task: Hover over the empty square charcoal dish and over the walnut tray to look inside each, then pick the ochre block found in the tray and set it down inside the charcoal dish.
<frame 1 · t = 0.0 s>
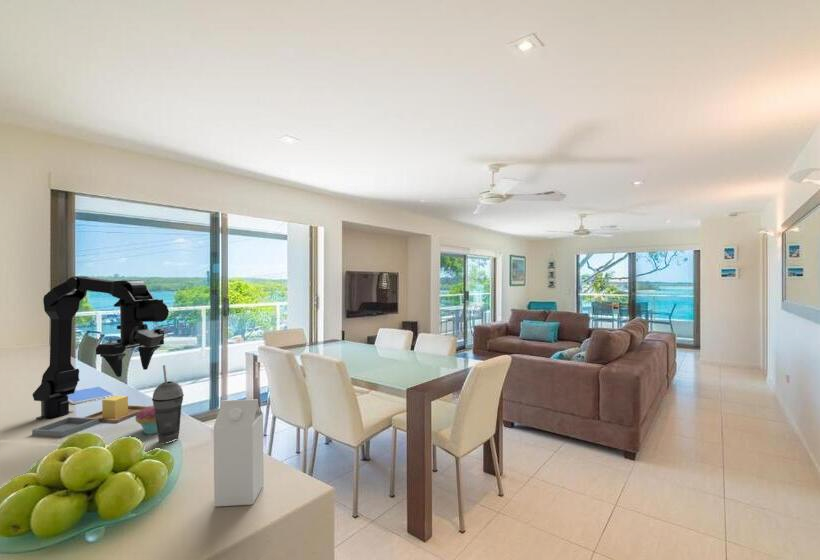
hand: (132, 373, 119), 15 cm above the counter, tool pointing down, fingers open, 9 cm apart
tray: (118, 416, 124), on the counter
beverage cup: (168, 440, 105), on the counter
block: (115, 415, 123), point 1 cm above the counter, touching tray
milk carton: (240, 497, 78), on the counter
cupcake: (154, 431, 112), on the counter
tablet computer: (87, 397, 147), on the counter
dish: (66, 431, 112), on the counter
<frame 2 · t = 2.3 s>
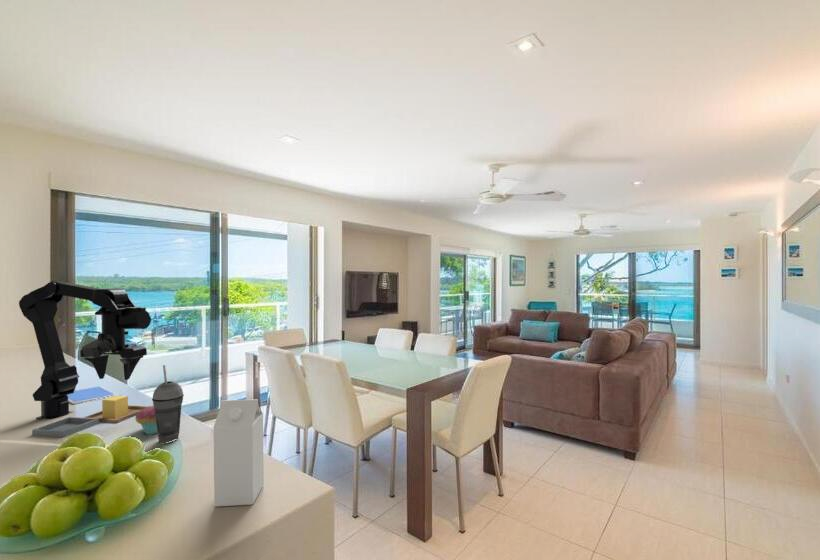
hand: (114, 379, 123), 12 cm above the counter, tool pointing down, fingers open, 9 cm apart
nothing on the counter moved.
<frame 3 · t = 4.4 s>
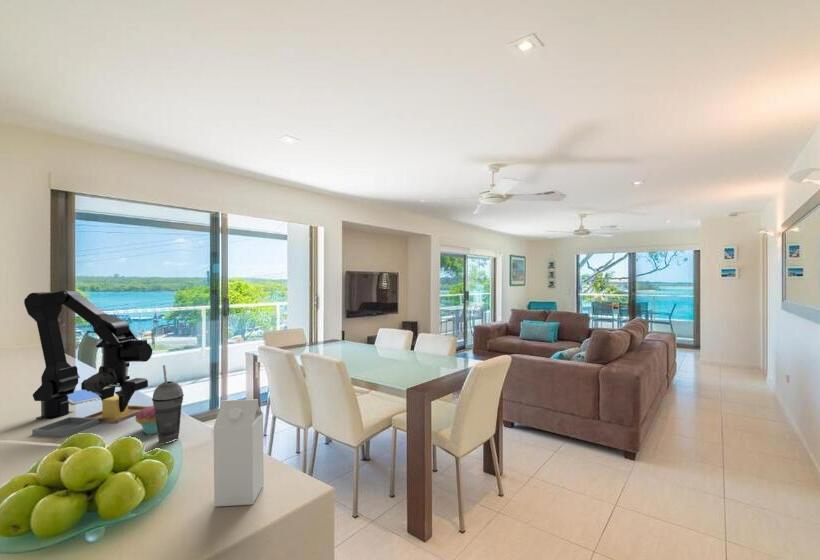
hand: (115, 411, 123), 2 cm above the counter, tool pointing down, fingers closed on block, 4 cm apart
block: (115, 415, 123), point 1 cm above the counter, touching gripper, tray
everything else where it was.
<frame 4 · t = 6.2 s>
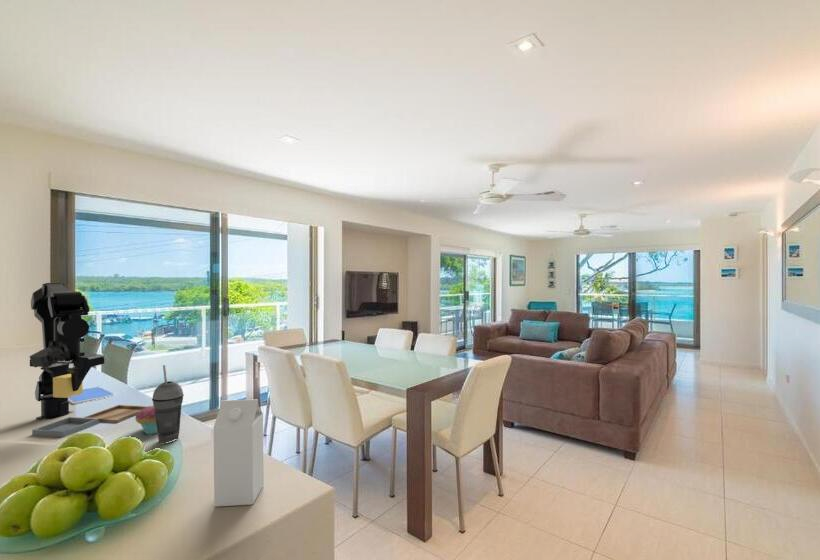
hand: (68, 390, 112), 11 cm above the counter, tool pointing down, fingers closed on block, 4 cm apart
block: (68, 395, 112), point 10 cm above the counter, touching gripper
everything else where it was.
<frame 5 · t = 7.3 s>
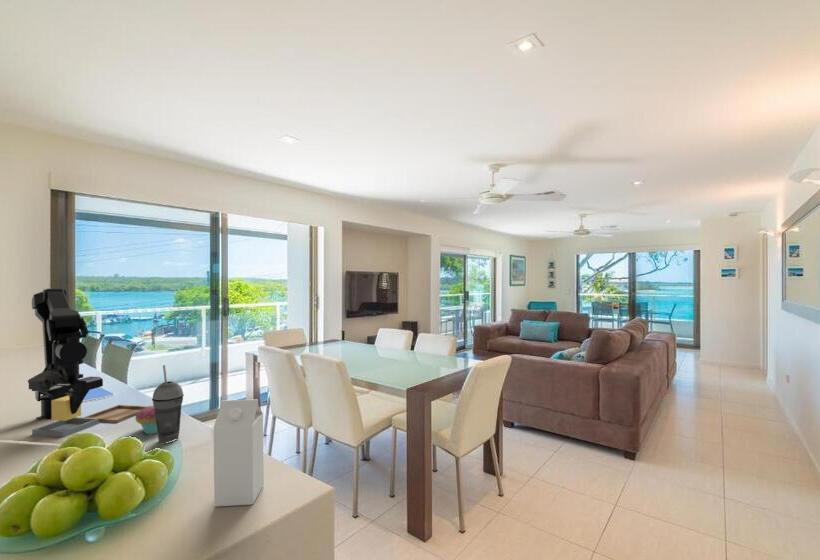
hand: (66, 413, 112), 5 cm above the counter, tool pointing down, fingers closed on block, 4 cm apart
block: (66, 417, 112), point 4 cm above the counter, touching gripper
everything else where it was.
when the fingers open (3 cm above the counter, at t = 8.0 s): block drops 1 cm, resting on dish.
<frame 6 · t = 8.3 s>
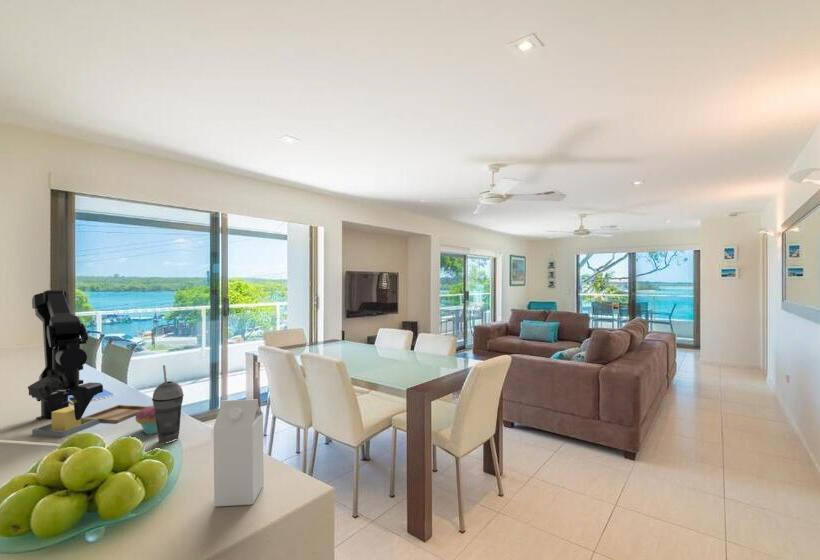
hand: (66, 419, 112), 3 cm above the counter, tool pointing down, fingers open, 7 cm apart
block: (66, 428, 112), point 1 cm above the counter, touching dish
everything else where it was.
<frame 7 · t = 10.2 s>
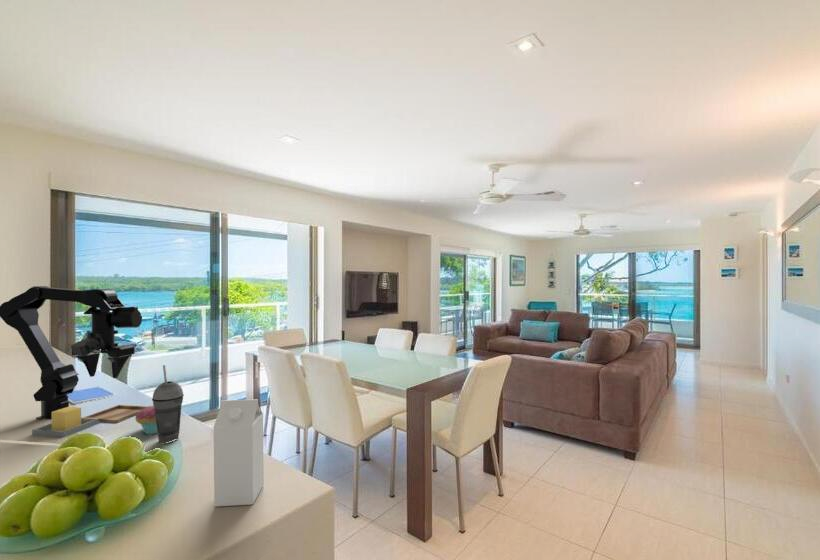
hand: (103, 377, 125), 12 cm above the counter, tool pointing down, fingers open, 9 cm apart
nothing on the counter moved.
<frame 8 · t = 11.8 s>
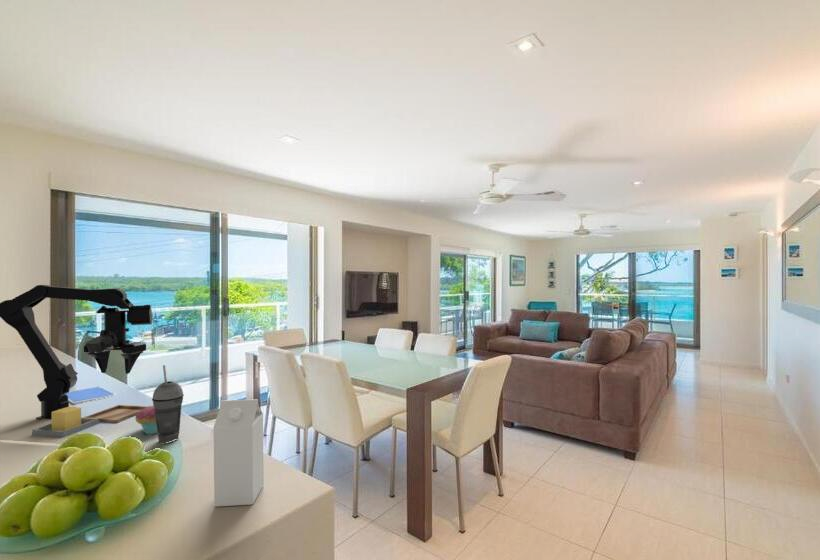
hand: (115, 373, 131), 12 cm above the counter, tool pointing down, fingers open, 9 cm apart
nothing on the counter moved.
at the end: block inside the target area on the dish (0.0 cm from its centre), point 0.6 cm above the dish's base; block tilted 0°; the gripper is holding nothing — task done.
